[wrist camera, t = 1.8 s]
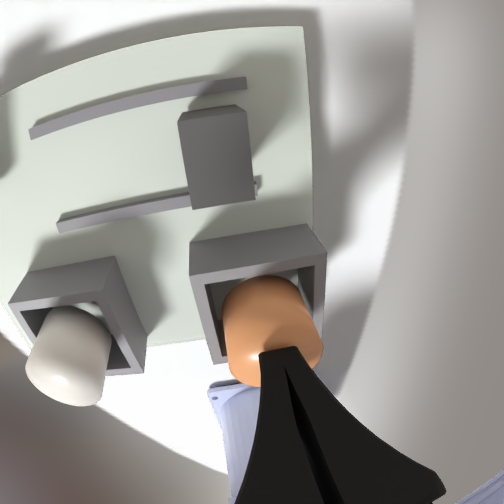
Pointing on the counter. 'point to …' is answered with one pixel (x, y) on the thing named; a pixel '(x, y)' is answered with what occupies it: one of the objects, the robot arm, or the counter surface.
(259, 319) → the button orange
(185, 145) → the slider knob
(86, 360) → the button white
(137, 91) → the panel
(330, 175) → the counter surface
